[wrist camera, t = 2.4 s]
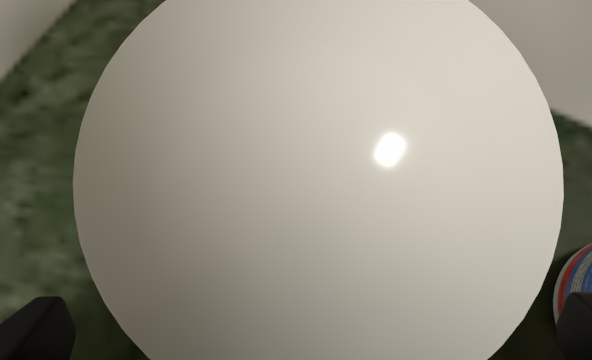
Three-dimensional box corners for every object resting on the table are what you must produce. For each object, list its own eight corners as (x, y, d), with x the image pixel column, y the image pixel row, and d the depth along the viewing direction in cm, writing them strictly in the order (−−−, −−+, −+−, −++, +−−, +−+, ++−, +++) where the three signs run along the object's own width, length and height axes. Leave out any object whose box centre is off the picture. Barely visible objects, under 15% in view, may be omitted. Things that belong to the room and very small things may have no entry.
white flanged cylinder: (420, 306, 17) (747, 343, 4) (256, 370, 17) (103, 615, 4) (354, 150, 19) (460, -155, 6) (202, 206, 18) (-35, 7, 5)
